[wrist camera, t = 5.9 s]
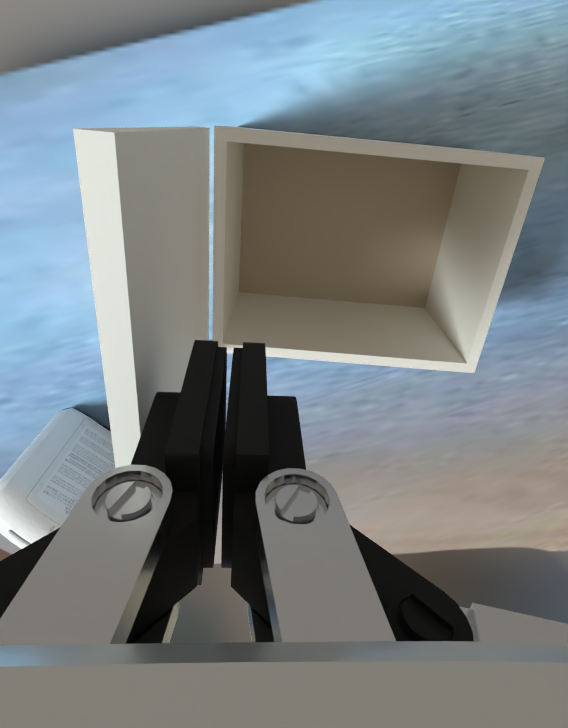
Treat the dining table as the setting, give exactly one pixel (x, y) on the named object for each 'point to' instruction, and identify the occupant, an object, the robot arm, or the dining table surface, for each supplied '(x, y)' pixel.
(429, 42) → the dining table surface
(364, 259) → the carton
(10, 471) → the photo printer
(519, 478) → the dining table surface
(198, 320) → the carton lid
